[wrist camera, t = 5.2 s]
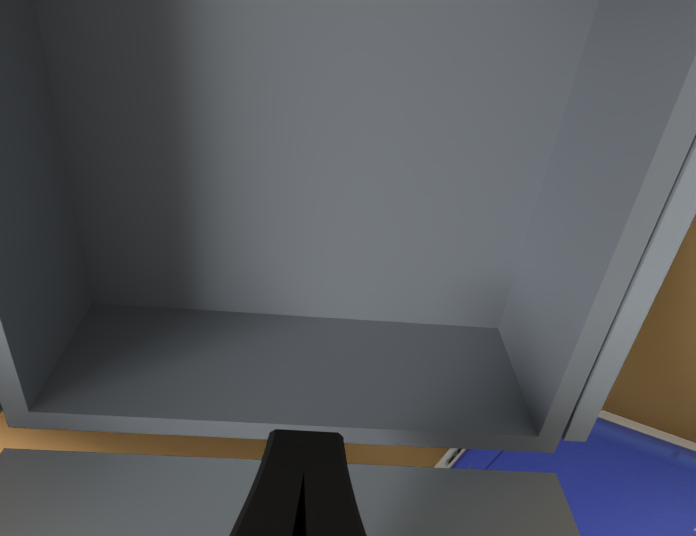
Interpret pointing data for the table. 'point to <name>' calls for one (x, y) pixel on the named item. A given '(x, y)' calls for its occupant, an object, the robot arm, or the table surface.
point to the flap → (233, 488)
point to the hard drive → (611, 477)
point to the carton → (337, 213)
